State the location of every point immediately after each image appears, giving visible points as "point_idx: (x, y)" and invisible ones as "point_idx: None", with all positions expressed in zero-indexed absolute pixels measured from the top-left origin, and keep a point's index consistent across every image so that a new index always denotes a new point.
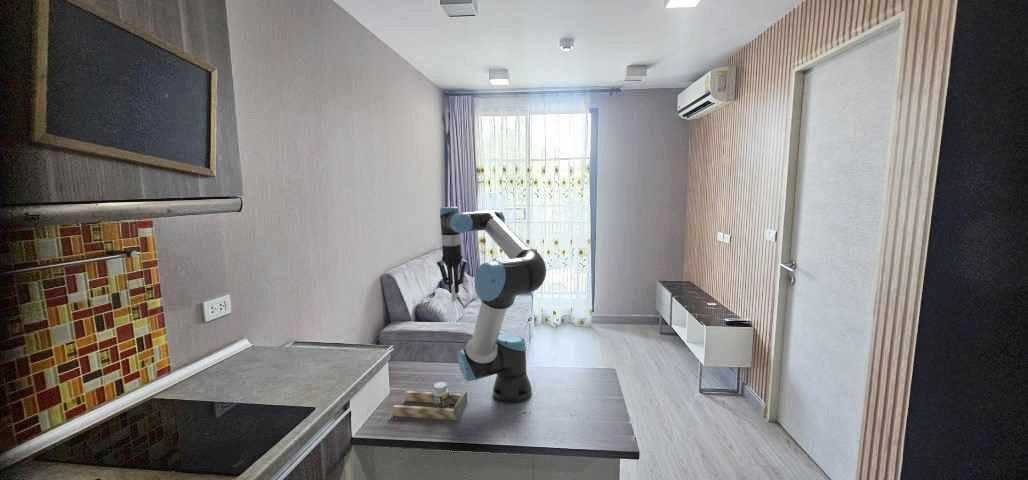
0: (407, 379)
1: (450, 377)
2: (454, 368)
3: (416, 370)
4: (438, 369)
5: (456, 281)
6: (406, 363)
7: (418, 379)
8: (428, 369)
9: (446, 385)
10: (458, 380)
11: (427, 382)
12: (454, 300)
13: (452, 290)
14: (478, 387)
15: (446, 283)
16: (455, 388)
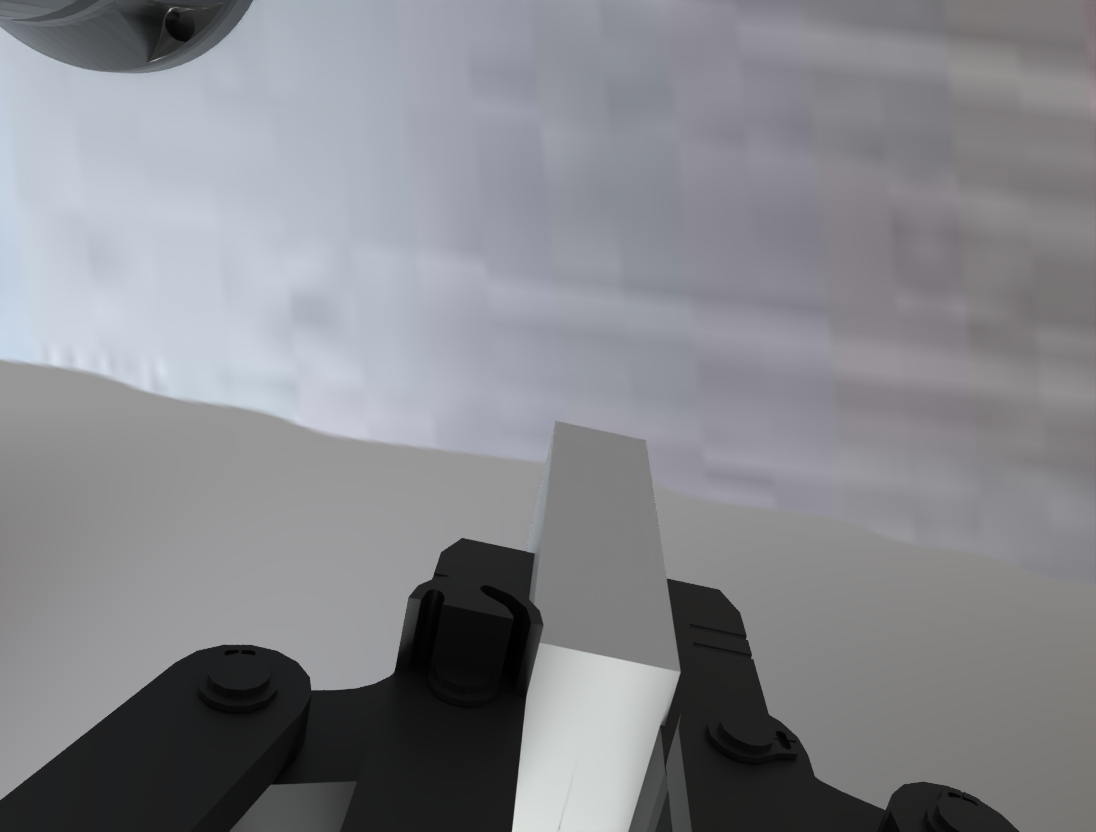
0: (1037, 257)
1: (666, 250)
2: (645, 408)
3: (969, 412)
4: (781, 407)
5: (391, 769)
6: (1065, 550)
7: (940, 246)
8: (867, 418)
9: None
10: (593, 187)
11: (858, 181)
12: (576, 432)
13: (622, 572)
14: (411, 39)
15: (903, 797)
16: (606, 43)
